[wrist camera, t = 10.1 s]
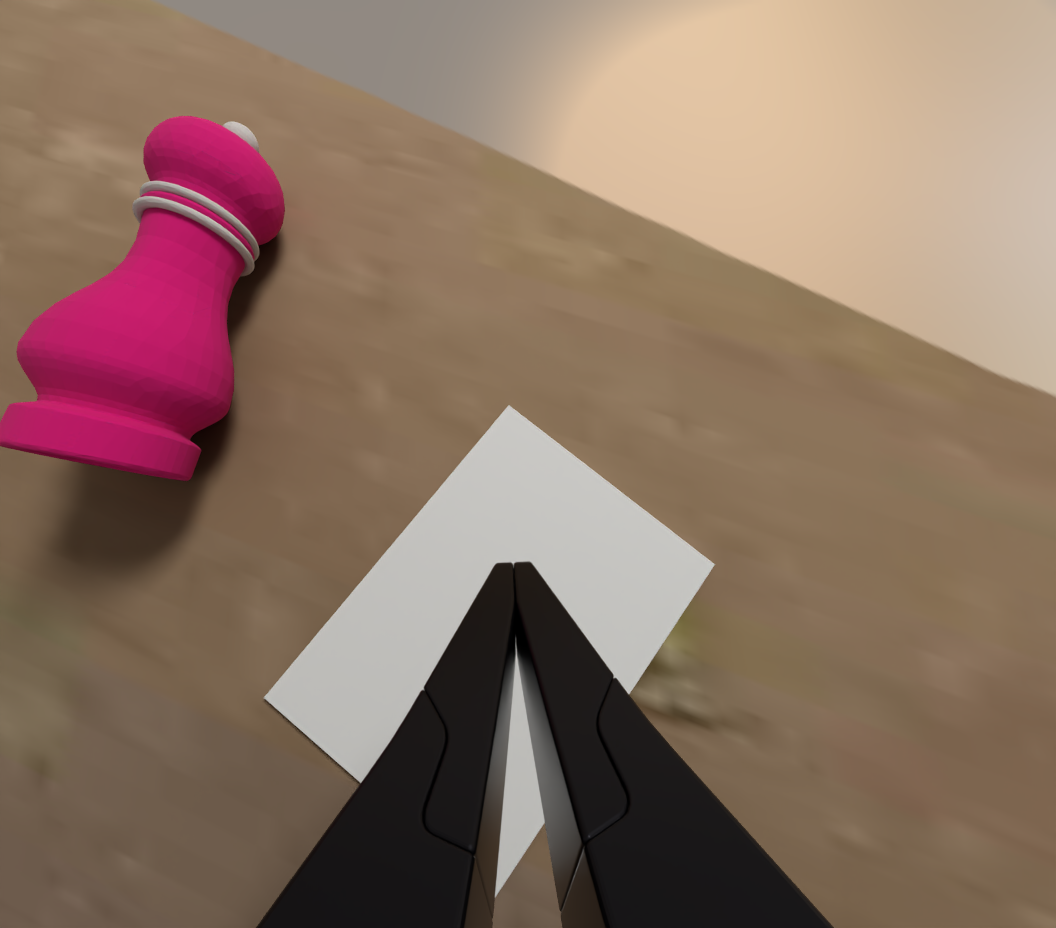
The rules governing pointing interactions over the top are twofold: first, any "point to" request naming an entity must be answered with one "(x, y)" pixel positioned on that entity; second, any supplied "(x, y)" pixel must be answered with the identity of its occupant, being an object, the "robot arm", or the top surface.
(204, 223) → the pepper mill
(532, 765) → the rubber mat
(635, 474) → the top surface
